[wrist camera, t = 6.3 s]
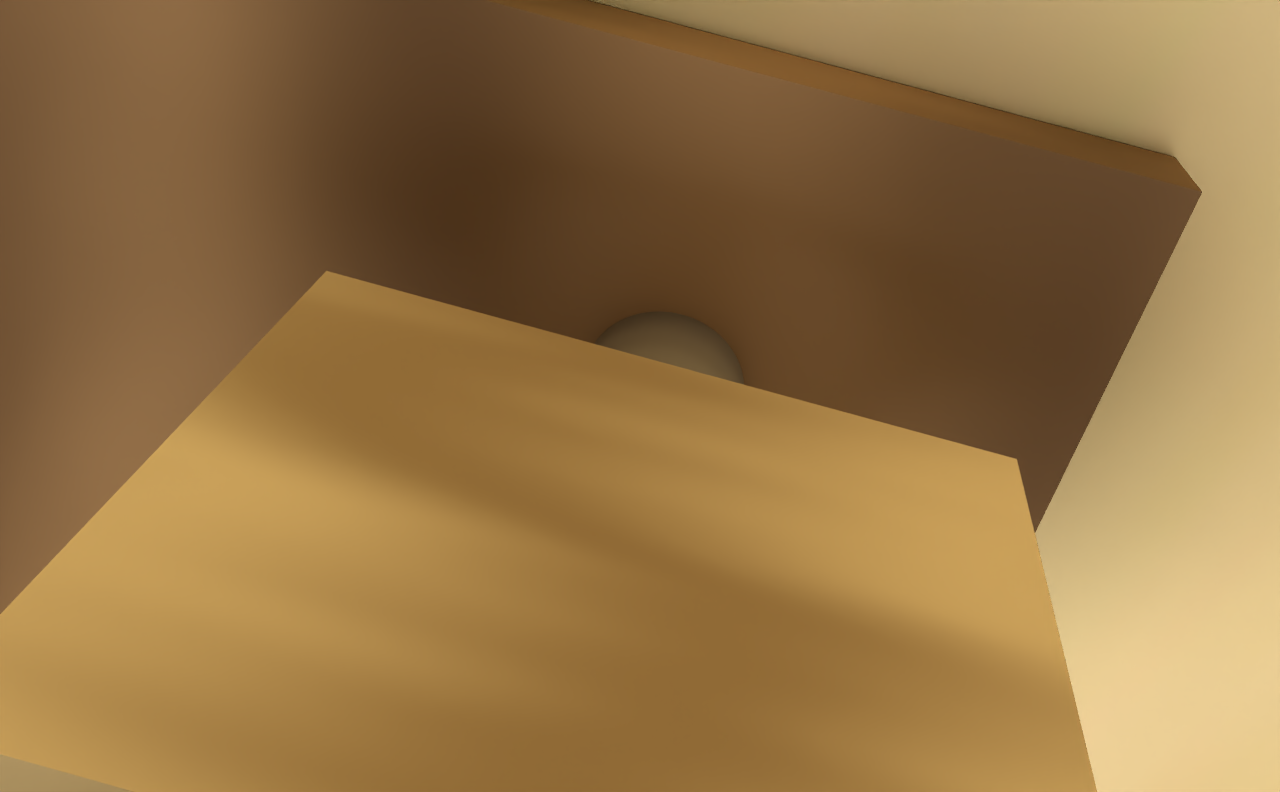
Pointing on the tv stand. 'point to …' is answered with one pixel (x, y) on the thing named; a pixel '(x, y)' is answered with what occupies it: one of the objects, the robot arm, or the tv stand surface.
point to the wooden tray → (536, 221)
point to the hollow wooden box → (535, 586)
